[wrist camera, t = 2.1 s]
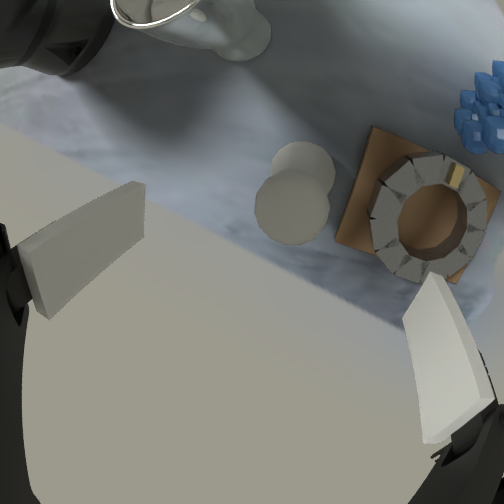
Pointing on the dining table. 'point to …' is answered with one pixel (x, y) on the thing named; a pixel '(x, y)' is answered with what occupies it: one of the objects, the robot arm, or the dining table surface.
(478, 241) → the grey segmented ring
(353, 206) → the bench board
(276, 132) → the dining table surface
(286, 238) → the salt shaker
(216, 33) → the beer glass
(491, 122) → the grapes
